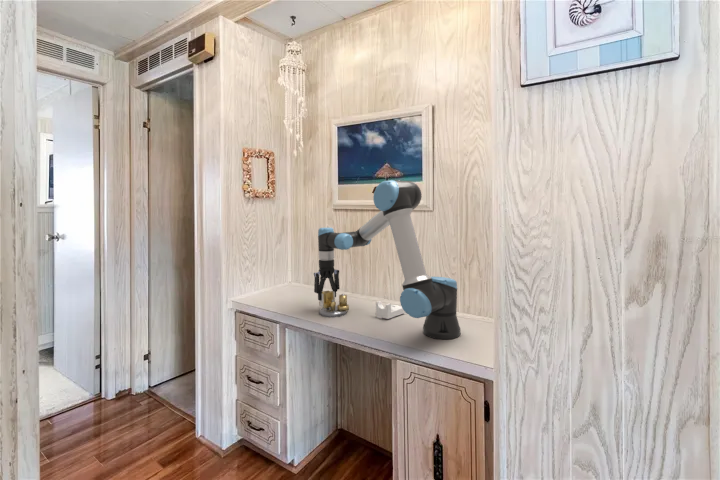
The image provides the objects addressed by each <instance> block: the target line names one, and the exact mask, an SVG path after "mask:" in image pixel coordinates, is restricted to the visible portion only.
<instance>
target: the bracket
mask: <svg viewBox="0 0 720 480" xmlns="http://www.w3.org/2000/svg"><path fill="white" fill-rule="evenodd" d="M403 314H406V312H405V311H404V310H403V308H402V306H401V305H397V304H392V303H386V304H385V306H384V305H383V304H382V301H381V300H378V301H375V318H377V319H378V318H379V319H380V320H381V319H386V320H388V319H392V318H395V317H398V316H400V315H403Z"/></svg>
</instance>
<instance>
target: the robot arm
mask: <svg viewBox="0 0 720 480" xmlns="http://www.w3.org/2000/svg"><path fill="white" fill-rule="evenodd" d="M372 198H373V203H374V206H375V207H376V208H377V210H379V212H378V213H377V214H375V215H374V216H373V217H372V218H371V219H369V220H368V221H367V222H365V223H364V224H363V225H362V226H361V227H359V228H358V229H357V230H355V231H347V232H335V230H334V228H333V227H320V228H318V233H317V239H318V241H317V245H318V259H319V260H318V268H319V270H318V271H317V272H313V276H314V281H313V282H314V284H313V285H314V287H313V292H314V293H315V294H317V299H318V305H319V304H320V306H319V307H321V308H324V294H322V292H323V291H324V286H325V282H326V280H327V279H328V281H329V283H330V288H331V290H330V291H331V292H333V300H334V301H335V302H336V298H337V292H338V291H339V290H340V289H341V288H340V278H339V274H340V270H339V269H336V268H335V249H337V250H341V251H343V250H345V251H346V250H347V251H348V250H350V248H357V247H365V246H368V245H370V244H371V242H372V239H373V238H375V237H376V236H377V235H379V233H381V232H382V231H384V230H385V229H386V228H387V227H389V226H390V229H391V233H392V238H393V241H394V245H395V247H396V253H397V256H398V259H399V262H400V263H399V264H400V267H401V271H402V275H403V278H404V280H403V283H402V284H401V287H402V289H403V291H402V292H401V293H400V297H399V301H400V306H402V308H403V310H404V311H405V314H407V315H408V316H409V317H412V318H415V319H420V318H421V319H422V318H425V319H424V324H423V325H422V334H423V335H425V336H427V337H429V338H431V339H437V340H452V339H456V338H459V337H460V336H461V326H460V324H459V320H458V316H457V307H458V306H457V305H458V303H457V302H458V301H457V300H458V299H457V298H458V282H457V280H455V279H454V278H450V277H444V276H431V275H428V273H427V272H426V268H425V265H424V261H423V257H422V253H421V249H420V246H419V243H418V239H417V235H416V232H415V228H414V225H413V220H412V216H411V214H412V212H413V211H414V210H415V209H416V208H418V206H419V204H420V203H421V201H422V190H421V188H420V186H419V185H418V184H417V183H415V182H413V181H410V180H394V179H390V180H383V181H381V182H380V183H378V184H377V186H376V187H375V190H374V193H373V197H372Z"/></svg>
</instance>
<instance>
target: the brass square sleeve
mask: <svg viewBox="0 0 720 480" xmlns="http://www.w3.org/2000/svg"><path fill="white" fill-rule="evenodd" d="M331 291H332V290H323V291H322V294H324V307H323V308H329V307H331V302H332V300H333V292H331ZM334 302H335V306H337V301H336V300H335V301H334ZM318 306H319V307H321V306H320V304H319V303H318Z"/></svg>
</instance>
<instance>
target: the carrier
mask: <svg viewBox="0 0 720 480" xmlns="http://www.w3.org/2000/svg"><path fill="white" fill-rule="evenodd" d="M338 300H339V301H338V304H336V306H335V302H336V301H335V302H334V300H332V302H331V307H329V308H324V307H321V308H320V309H319V316H321V317H324V318H340V317H342V316H345V315H347V311H349V310H350V305H349V304H348V295H347V294H345V293H341V294H339V295H338Z"/></svg>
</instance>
